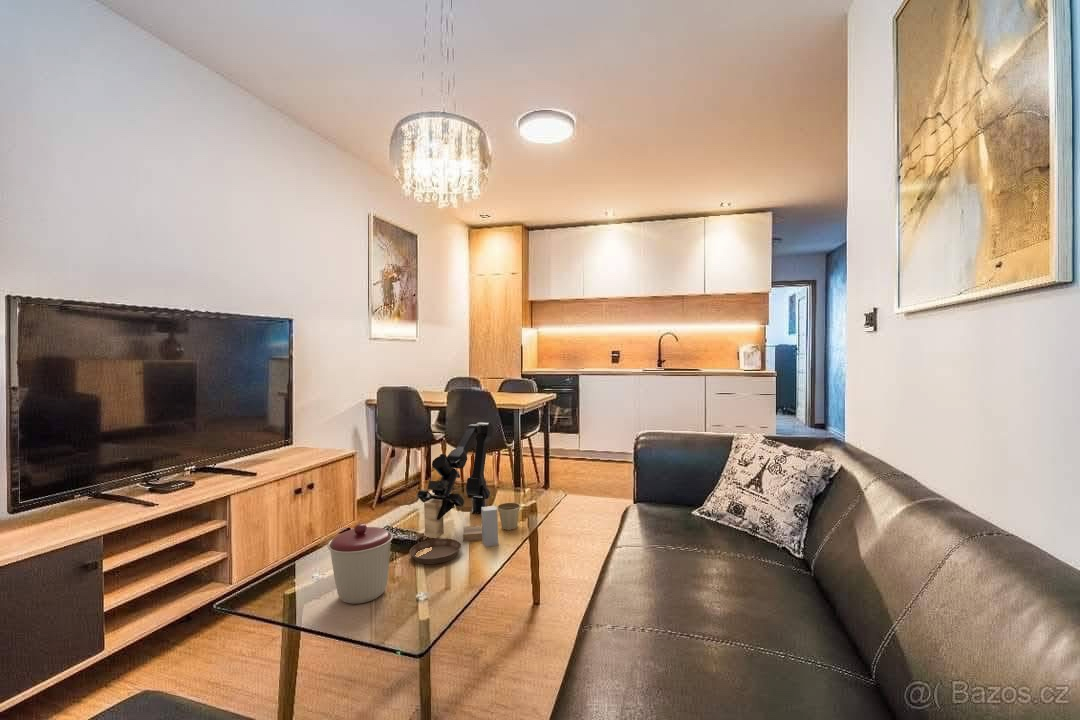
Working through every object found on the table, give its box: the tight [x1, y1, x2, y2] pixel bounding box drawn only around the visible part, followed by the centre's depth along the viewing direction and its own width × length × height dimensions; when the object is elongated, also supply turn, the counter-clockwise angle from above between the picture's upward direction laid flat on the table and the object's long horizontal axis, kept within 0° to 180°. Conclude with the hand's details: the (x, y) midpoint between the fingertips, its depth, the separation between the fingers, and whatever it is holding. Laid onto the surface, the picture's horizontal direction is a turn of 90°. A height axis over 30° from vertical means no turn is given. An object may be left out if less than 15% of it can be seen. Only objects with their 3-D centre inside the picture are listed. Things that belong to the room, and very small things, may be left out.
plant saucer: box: [409, 538, 462, 565], centre depth 172 cm, size 18×18×3 cm
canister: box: [327, 523, 394, 605], centre depth 144 cm, size 18×18×21 cm
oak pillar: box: [423, 499, 445, 539], centre depth 188 cm, size 5×5×13 cm
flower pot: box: [496, 502, 521, 531], centre depth 197 cm, size 9×9×9 cm
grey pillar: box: [480, 505, 499, 548], centre depth 181 cm, size 5×5×13 cm
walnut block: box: [462, 525, 482, 542], centre depth 188 cm, size 8×8×3 cm
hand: (431, 518), depth 186 cm, fingers closed on oak pillar, 5 cm apart
